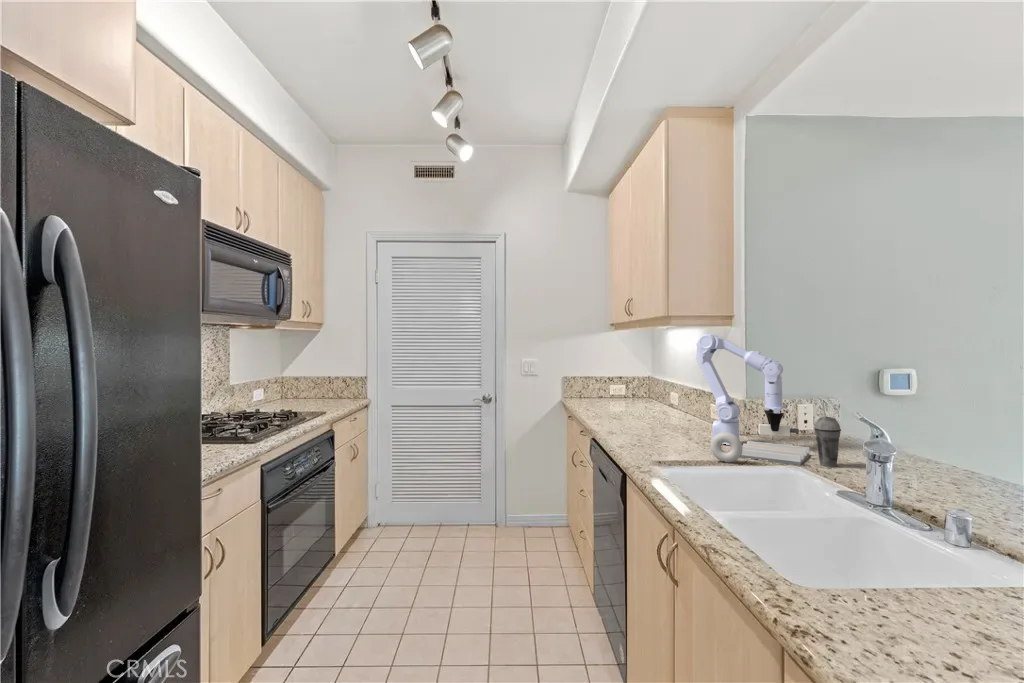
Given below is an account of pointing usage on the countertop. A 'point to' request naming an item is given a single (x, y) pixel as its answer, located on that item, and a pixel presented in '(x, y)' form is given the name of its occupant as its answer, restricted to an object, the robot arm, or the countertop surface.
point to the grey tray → (775, 452)
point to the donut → (730, 439)
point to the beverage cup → (827, 440)
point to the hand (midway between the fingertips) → (774, 430)
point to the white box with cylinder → (783, 431)
